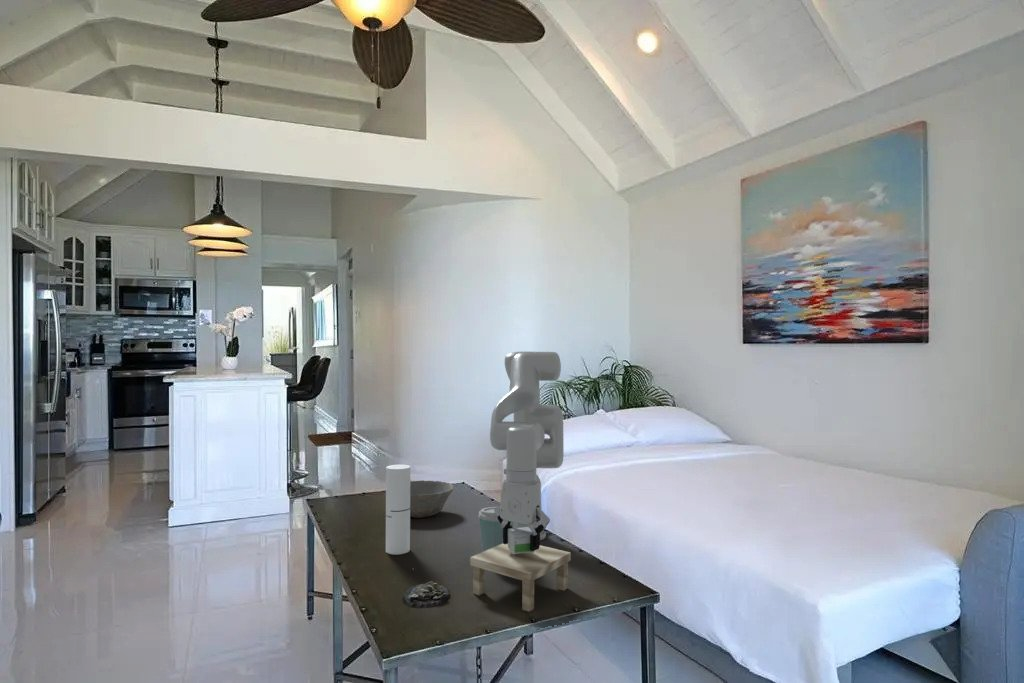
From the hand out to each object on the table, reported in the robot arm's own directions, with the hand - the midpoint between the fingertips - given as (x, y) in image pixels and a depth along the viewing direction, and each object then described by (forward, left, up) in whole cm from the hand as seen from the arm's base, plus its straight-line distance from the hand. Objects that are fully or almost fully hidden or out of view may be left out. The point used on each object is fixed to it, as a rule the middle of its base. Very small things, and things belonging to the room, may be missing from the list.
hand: (521, 545), depth 151 cm
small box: (0, 0, -1) cm, 1 cm away
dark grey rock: (+17, -16, -12) cm, 26 cm away
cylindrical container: (-2, -47, -11) cm, 48 cm away
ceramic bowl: (-34, -69, -12) cm, 78 cm away
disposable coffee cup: (-13, -18, -11) cm, 25 cm away
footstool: (0, 0, -11) cm, 11 cm away
